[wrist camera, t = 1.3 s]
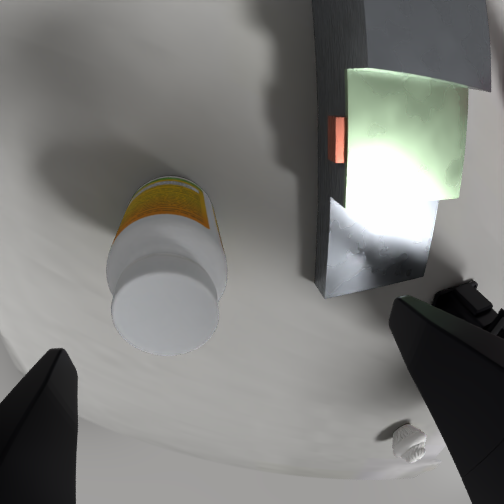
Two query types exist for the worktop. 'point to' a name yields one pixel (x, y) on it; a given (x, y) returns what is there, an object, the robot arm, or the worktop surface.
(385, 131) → the stand
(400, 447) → the muffin
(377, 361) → the worktop surface
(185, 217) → the supplement bottle
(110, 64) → the worktop surface
